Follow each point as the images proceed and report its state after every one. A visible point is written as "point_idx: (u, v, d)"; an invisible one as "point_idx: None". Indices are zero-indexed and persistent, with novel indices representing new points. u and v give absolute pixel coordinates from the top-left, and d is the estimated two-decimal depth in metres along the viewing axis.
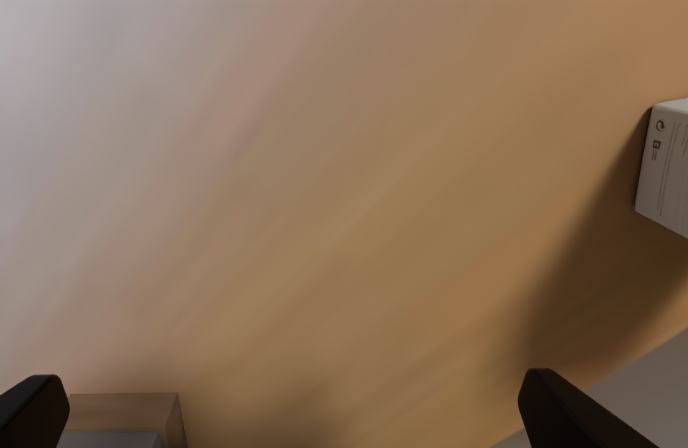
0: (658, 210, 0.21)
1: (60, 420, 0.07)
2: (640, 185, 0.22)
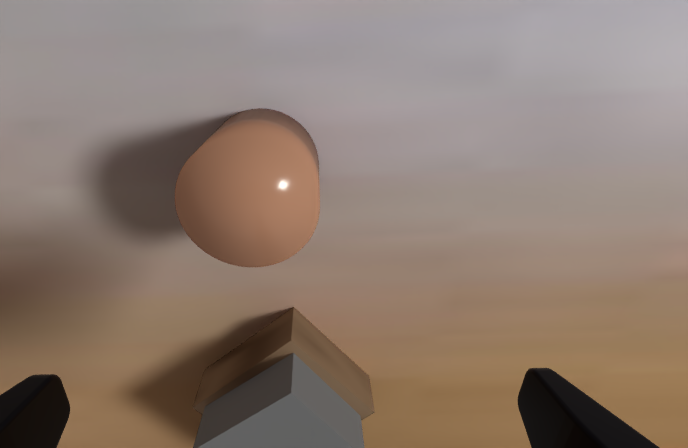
0: None
1: (60, 420, 0.07)
2: None
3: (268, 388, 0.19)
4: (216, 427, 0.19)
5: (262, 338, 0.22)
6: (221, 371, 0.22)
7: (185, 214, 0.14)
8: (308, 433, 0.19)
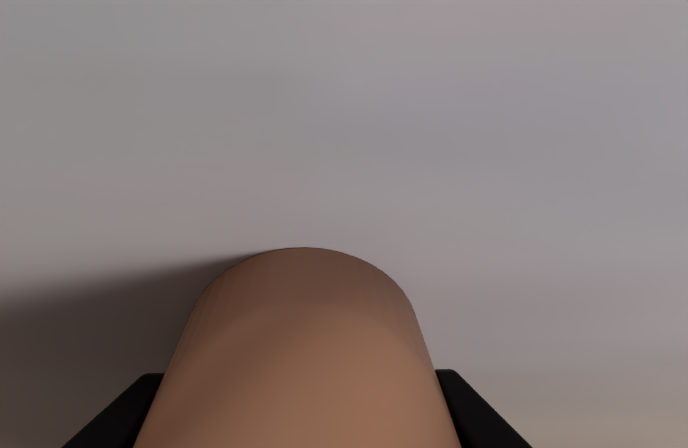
0: None
1: None
2: None
3: None
4: None
5: None
6: None
7: None
8: None
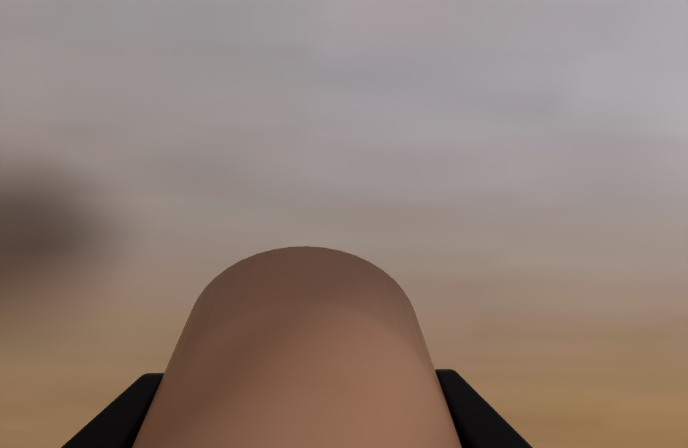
0: None
1: None
2: None
3: None
4: None
5: None
6: None
7: None
8: None
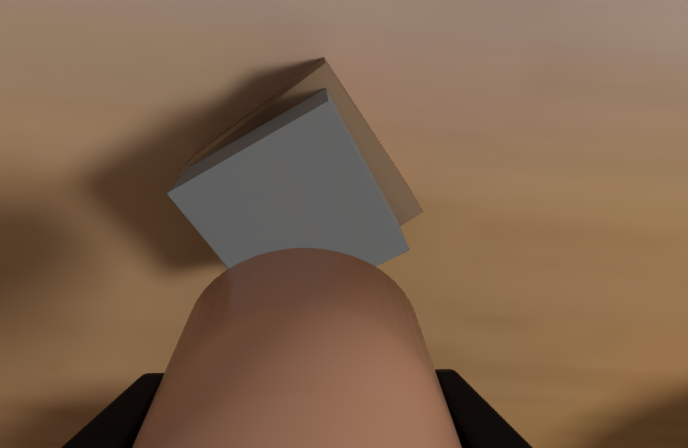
0: None
1: None
2: None
3: (289, 116, 0.13)
4: (205, 167, 0.13)
5: (279, 92, 0.16)
6: (219, 139, 0.16)
7: None
8: (340, 188, 0.13)
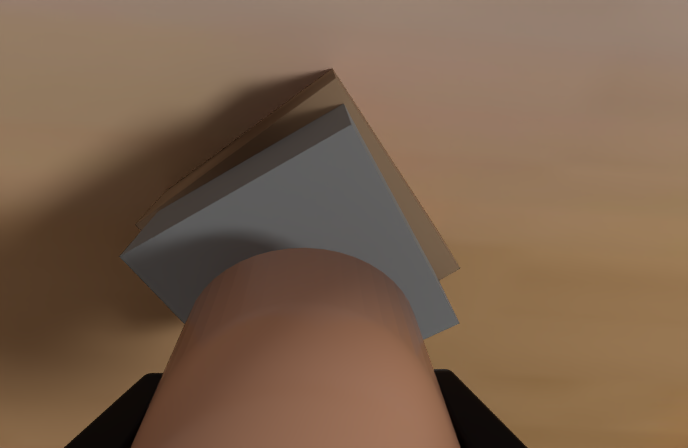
0: None
1: None
2: None
3: (293, 144, 0.09)
4: (176, 217, 0.09)
5: (274, 114, 0.12)
6: (194, 174, 0.12)
7: None
8: (366, 245, 0.09)
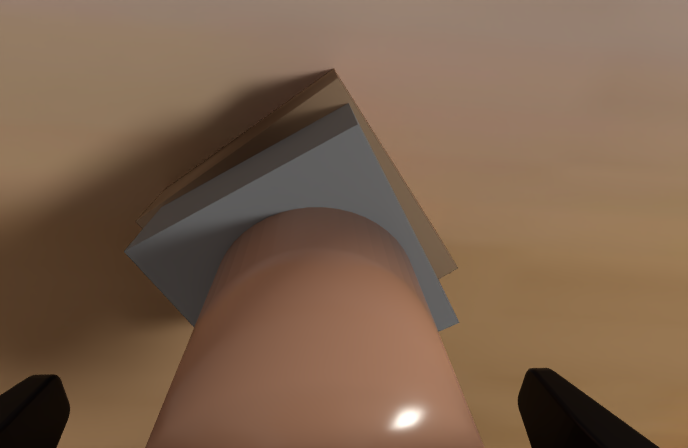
0: None
1: (60, 420, 0.07)
2: None
3: (298, 143, 0.09)
4: (180, 214, 0.09)
5: (275, 113, 0.12)
6: (195, 172, 0.12)
7: None
8: None
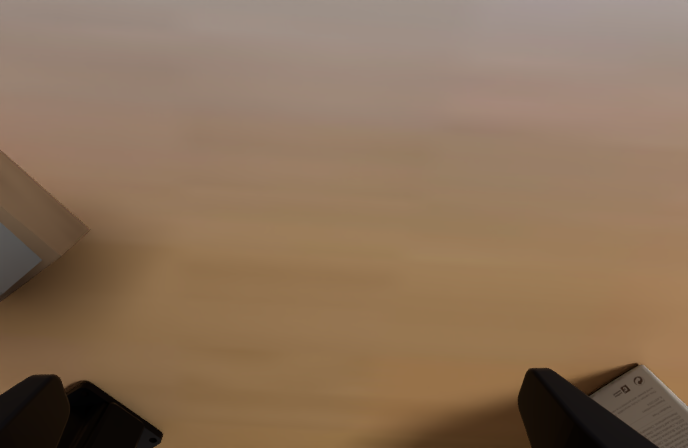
0: None
1: (60, 420, 0.07)
2: None
3: None
4: None
5: None
6: None
7: None
8: None
